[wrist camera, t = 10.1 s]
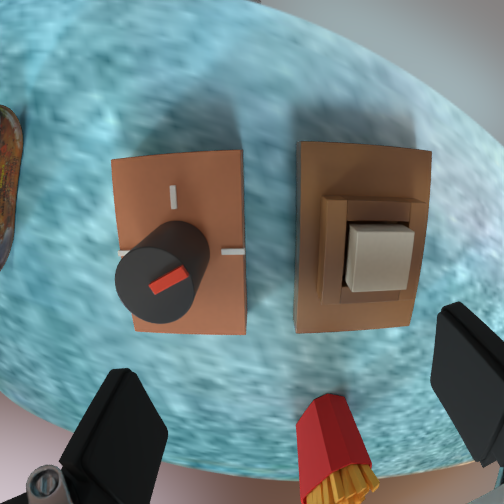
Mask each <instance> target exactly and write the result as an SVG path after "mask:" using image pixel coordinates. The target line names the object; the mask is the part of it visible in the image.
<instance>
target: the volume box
mask: <svg viewBox="0 0 504 504" xmlns="http://www.w3.org/2000/svg"><path fill="white" fill-rule="evenodd" d="M111 167H112V181H113V193H114V203H115V213H116V222H117V230H118V237H119V245H120V250H118V256H121V258H123V257H124V256H125V255H126V254H127V253H128V252H129V251H130V250H131V249H132V248H134V247H135V246H136V245H137V244H138V243H139V242H141V241H142V240H143V239H144V238H145V237H146V236H148V235H149V234H150V233H151V232H152V231H153V230H155V229H156V228H157V227H158V226H160V225H161V224H163V223H166V222H169V221H184V222H187V223H189V224H192V225H193V226H195V227H196V228H198V229H199V230H200V231H201V232H202V233H203V235H204V236H205V238H206V240H207V242H208V245H209V249H210V259H209V263H208V266H207V268H206V271H205V273H204V276H203V278H202V281H201V283H200V286H199V288H198V291H197V293H196V296H195V298H194V301H193V303H192V305H191V307H190V309H189V310H188V312H187V313H186V314H185V315H184V316H183V317H181V318H180V319H178V320H176V321H174V322H171V323H167V324H155V323H150V322H147V321H144V320H142V319H140V318H138V317H136V316H135V315H133V314H132V318H133V323H134V327H135V331H138V332H155V333H177V334H211V335H246V325H247V289H246V253H245V216H244V175H243V150H217V151H198V152H183V153H170V154H158V155H148V156H138V157H129V158H120V159H112V160H111Z"/></svg>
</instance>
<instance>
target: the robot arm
mask: <svg viewBox="0 0 504 504" xmlns="http://www.w3.org/2000/svg"><path fill="white" fill-rule="evenodd" d="M430 382H431V386H432V388H433V390H434V392H435V393H436V395H437V397H438V398H439V400H440V402H441V403H442V405H443V407H444V408H445V410H446V412H447V413H448V415H449V417H450V418H451V420H452V422H453V424H454V425H455V427H456V429H457V430H458V432H459V434H460V436H461V438H462V439H463V441H464V443H465V445H466V446H467V448H468V450H469V452H470V454H471V456H472V457H473V459H474V460H475V461H476V462H479V461H480V463H481V465H482V467H483V468H484V467H486V466H487V465H489V464H491V463H493V462H495V461H496V460H497V461H498V463H499V465H500V470H499V473H498V477H497V481H496V485H495V488H494V490H492V491H490V492H489V493H487V494H485V495H483V496H481V497H479V498H477V499H475V500H473V501H471V502H469V503H467V504H504V341H503V340H502V339H501V338H499V337H498V336H497V335H496V334H495V333H494V332H493V331H492V330H491V329H490V328H489V327H488V326H487V325H486V324H485V323H484V322H482V321H481V320H480V319H479V318H478V317H477V316H476V315H475V314H474V313H473V312H471V311H470V310H469V309H468V308H467V307H466V306H465V305H464V304H462V303H461V302H455V303H452V304H449V305H446V306H444V307H442V309H441V312H440V313H438V315H437V325H436V336H435V346H434V355H433V363H432V370H431V377H430ZM167 439H168V430H167V427H166V426H165V424H164V422H163V421H162V419H161V417H160V416H159V414H158V412H157V410H156V409H155V407H154V405H153V403H152V402H151V400H150V398H149V396H148V395H147V393H146V391H145V389H144V387H143V385H142V383H141V382H140V380H139V378H138V376H137V374H136V373H134V372H132V371H131V370H130V369H128V368H121V369H112V370H111V371H110V372H109V374H108V375H107V377H106V379H105V380H104V382H103V384H102V385H101V387H100V389H99V390H98V392H97V394H96V395H95V397H94V399H93V400H92V402H91V404H90V406H89V407H88V409H87V411H86V413H85V414H84V416H83V418H82V420H81V421H80V423H79V425H78V427H77V428H76V430H75V432H74V434H73V436H72V438H71V439H70V441H69V443H68V445H67V447H66V448H65V451H64V452H63V454H62V456H61V458H60V460H59V462H60V463H61V464H62V466H63V467H62V469H61V470H60V469H59V468H58V467H56V466H53V465H44V466H41V467H39V468H37V469H35V470H34V471H33V472H32V473H31V474H30V476H29V478H28V480H27V483H26V493H23V494H21V495H19V496H17V497H14V498H12V499H10V500H7V501H5V502H3V503H0V504H150V500H151V496H152V492H153V489H154V485H155V481H156V478H157V474H158V471H159V467H160V463H161V460H162V456H163V453H164V449H165V446H166V442H167Z"/></svg>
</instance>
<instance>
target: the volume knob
mask: <svg viewBox="0 0 504 504" xmlns="http://www.w3.org/2000/svg"><path fill="white" fill-rule="evenodd" d="M209 259H210V249H209V245H208V242H207V240H206V238H205V236H204V235H203V233H202V232H201V231H200V230H199V229H198V228H196V227H195V226H193V225H192V224H189V223H187V222H184V221H169V222H166V223H163V224H161V225H160V226H158V227H157V228H156V229H155V230H153V231H152V232H151V233H150V234H149V235H148V236H146V237H145V238H144V239H143V240H142V241H141V242H139V243H138V244H137V245H136V246H135V247H134V248H132V249H131V250H130V251H129V252H128V253H127V254H126V255H125V256H124V257H123V258H122V259H121V260H120V262H119V264H118V266H117V269H116V273H115V286H116V290H117V293H118V296H119V298H120V300H121V301H122V303H123V304H124V306H125V307H126V308H127V309H128V310H129V311H130V312H131V313H132V314H133V315H135V316H136V317H138V318H140V319H142V320H144V321H147V322H150V323H155V324H167V323H171V322H174V321H176V320H178V319H180V318H181V317H183V316H184V315H185V314H186V313H187V312H188V310H189V309H190V307H191V305H192V303H193V301H194V298H195V296H196V293H197V291H198V288H199V286H200V283H201V281H202V278H203V276H204V273H205V271H206V268H207V266H208V263H209Z"/></svg>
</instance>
